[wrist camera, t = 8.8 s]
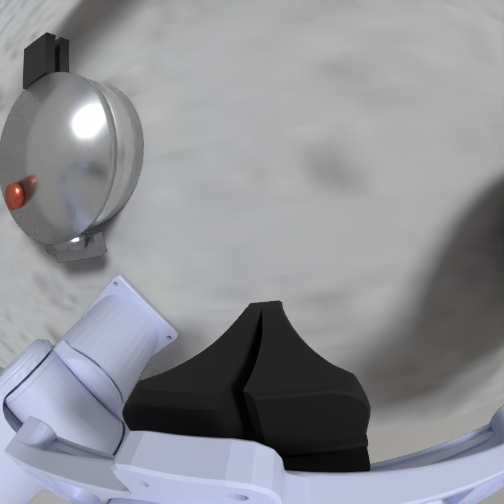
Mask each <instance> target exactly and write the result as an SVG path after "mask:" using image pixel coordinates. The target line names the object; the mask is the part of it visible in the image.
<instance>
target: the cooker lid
mask: <svg viewBox="0 0 504 504" xmlns="http://www.w3.org/2000/svg"><path fill="white" fill-rule="evenodd" d="M55 36H56V35H53V34H50V33H47V32H46V33H45V34H44V35H42V36H41V37H40V38H38V39H37V40H36V41H34V42H33V43H32V44H30V45H29V46H28V47H27V48H25V49H24V65H23V89H26V90H25V91H24V92H23V93H22V94H21V95H20V97H19V98H18V99H17V101H16V102H15V104H14V106H13V107H12V109H11V111H10V113H9V115H8V117H7V120H6V123H5V125H4V129H3V132H2V136H1V141H0V185H1V190H2V194H3V197H4V200H5V203H6V205H7V207H8V210H9V212H10V213H11V215H12V217H13V219H14V220H15V222H16V223H17V224H18V225H19V227H20V228H21V229H22V230H23V231H24V232H25V233H26V234H27V235H29V236H30V237H32V238H33V239H35V240H37V241H39V242H42V243H45V244H46V251H47V252H48V254H51V255H52V254H57V253H62V252H67V251H73V250H78V249H83V248H86V247H87V246H88V236H87V235H86V233H84V232H85V231H86V230H87V229H89V228H90V227H91V226H92V225H93V223H94V222H95V221H96V220H97V218H98V217H99V216H100V214H101V213H102V211H103V209H104V207H105V205H106V203H107V200H108V198H109V195H110V193H111V189H112V186H113V182H114V178H115V172H116V166H117V133H116V127H115V122H114V117H113V114H112V111H111V108H110V106H109V104H108V102H107V100H106V98H105V96H104V95H103V93H102V92H101V90H100V89H99V88H98V87H97V86H96V85H95V84H94V83H93V82H91V81H90V80H88V79H87V78H85V77H82V76H80V75H76V74H72V73H67V72H55Z"/></svg>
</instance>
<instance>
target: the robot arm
mask: <svg viewBox="0 0 504 504" xmlns="http://www.w3.org/2000/svg"><path fill="white" fill-rule="evenodd" d="M115 282H116V283H117V285H116V284H115ZM169 336H171V338H170V337H169ZM177 337H178V332H177V331H176V330H175V329H174V328H173V327H172V326H171V325H170V324H169V323H168V322H167V321H166V320H165V319H164V318H162V317H161V316H160V315H159V314H158V313H157V312H156V311H155V310H154V309H153V308H152V307H151V306H150V305H149V304H148V303H147V302H146V301H145V300H144V299H143V298H142V297H141V296H140V295H139V294H138V293H137V292H136V291H135V289H134V288H133V287H132V286H131V285H130V284H129V283H128V282H127V281H126V280H125V279H124V278H123V277H122V276H121V275H116V276H115V277H114V278H113V279H112V280H111V282H110V283H109V284H108V285H107V286H106V288H105V289H104V290H103V291H102V292H101V294H100V295H99V296H98V297H97V299H96V300H95V301H94V302H93V304H92V305H91V306H90V307H89V309H88V310H87V311H86V312H85V314H84V315H83V316H82V318H81V319H80V320H79V321H78V322H77V323H76V324H75V325H74V326H73V327H72V328H71V329H70V330H69V331H68V332H67V333H66V334H65V335H64V336H63V337H62V338H61V339H60V340H59V341H58V342H57V343H56V344H55V345H54V346H53V345H52V344H51V343H50V341H49V340H42V339H37V340H36V341H35V342H33V343H32V344H31V345H30V346H29V347H27V348H26V349H25V350H24V351H23V352H22V353H21V354H20V355H19V356H18V357H17V358H15V359H14V360H13V361H12V362H11V363H10V364H9V365H8V366H7V367H6V368H5V369H4V371H3V372H2V373H1V374H0V504H29V503H30V502H31V501H32V500H33V499H34V498H35V497H36V496H37V494H38V493H39V492H43V491H44V492H53V493H54V494H56V495H58V496H59V497H61V498H63V499H65V500H67V501H69V502H70V503H72V504H476V503H477V502H479V501H481V500H483V499H484V498H486V497H488V496H490V495H491V494H493V493H495V492H496V491H498V490H500V489H501V488H503V487H504V405H503V406H502V407H501V408H499V409H498V410H497V411H496V413H495V414H494V415H493V417H492V419H491V421H490V423H489V424H487V425H485V426H483V427H481V428H479V429H476V430H474V431H472V432H470V433H467V434H465V435H463V436H460V437H458V438H456V439H453V440H450V441H448V442H445V443H442V444H439V445H437V446H434V447H431V448H428V449H425V450H422V451H418V452H415V453H412V454H408V455H405V456H402V457H397V458H394V459H389V460H385V461H382V462H377V463H372V464H370V461H369V455H368V450H367V446H368V439H367V435H366V432H367V428H368V423H369V418H370V405H369V401H368V399H367V396H366V394H365V392H364V390H363V388H362V387H361V385H360V383H359V381H358V380H357V378H356V377H355V375H354V374H352V373H350V372H348V371H346V370H343V369H341V368H339V367H337V366H335V365H333V364H331V363H330V362H328V361H327V360H325V359H324V358H323V357H321V356H320V355H318V354H317V353H316V352H315V351H314V350H312V349H311V348H310V347H309V346H308V345H307V344H306V343H305V342H304V341H303V340H302V338H301V337H300V336H299V335H298V333H297V332H296V331H295V330H294V328H293V327H292V325H291V323H290V322H289V320H288V318H287V317H286V315H285V312H284V310H283V306H282V302H281V301H269V302H258V303H250V304H249V306H248V307H247V308H246V309H245V310H244V312H243V313H242V314H241V315H240V316H239V318H238V319H237V320H236V321H235V322H234V323H233V325H232V326H231V327H230V328H229V329H228V330H227V331H226V332H225V333H224V334H223V335H222V336H221V337H220V338H219V339H218V340H216V341H215V342H214V343H213V344H212V345H210V346H209V347H208V348H206V349H205V350H204V351H202V352H201V353H199V354H198V355H196V356H194V357H193V358H191V359H190V360H188V361H186V362H185V363H183V364H181V365H179V366H177V367H175V368H173V369H171V370H168V371H166V372H164V373H161V374H159V375H156V376H153V377H150V378H147V379H144V380H141V381H138V383H137V384H136V382H137V380H138V378H139V377H140V375H141V373H142V371H143V370H144V368H145V366H146V364H147V363H148V361H149V359H150V358H151V357H152V356H154V355H155V354H157V353H158V352H159V351H161V350H162V349H163V348H165V347H166V346H167V345H169V344H170V343H171V342H173V341H174V340H175V339H177ZM135 384H136V386H135V388H134V390H133V391H132V389H133V387H134V385H135ZM131 391H132V393H131V395H130V397H129V399H128V400H127V402H126V404H125V406H124V403H125V401H126V399H127V398H128V396H129V394H130V392H131ZM124 421H125V422H124Z"/></svg>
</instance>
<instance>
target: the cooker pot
mask: <svg viewBox="0 0 504 504" xmlns="http://www.w3.org/2000/svg"><path fill="white" fill-rule="evenodd" d="M55 72H67V73H69V40H67V39H64V38H61V37H60V38H59V39H57V40H56V41H55ZM88 80H90V79H88ZM90 81H91V82H93V83H94V84H95V85H96V86H97V87H98V88H99V89H100V90H101V92H102V93H103V95H104V96H105V98H106V100H107V102H108V104H109V106H110V108H111V111H112V114H113V117H114V122H115V127H116V133H117V166H116V172H115V178H114V182H113V186H112V189H111V193H110V195H109V198H108V200H107V203H106V205H105V207H104V209H103V211H102V213H101V214H100V216H99V217H98V218H97V220H96V221H95V222H94V223H93V225H92V226H91V227H90V228H92V227H94V226H96V225H98V224H101V223H103V222H105V221H107V220H108V219H110V218H111V217H113V216H114V215H116V214H117V213H118V212H119V211H120V210H121V209H122V208H123V206H124V205H125V204H126V203H127V201H128V200H129V198H130V196H131V195H132V193H133V191H134V189H135V187H136V184H137V181H138V178H139V176H140V172H141V167H142V161H143V148H144V142H143V132H142V128H141V123H140V120H139V117H138V114H137V112H136V110H135V108H134V106H133V105H132V103H131V102H130V100H129V99H128V98H127V97H126V96H125V95H124V94H123V93H122V92H121V91H119V90H118V89H117V88H115V87H112V86H110V85H107V84H104V83H101V82H97V81H94V80H90ZM90 228H89V229H90ZM87 230H88V229H87ZM87 236H88V246H87V247H86V248H83V249H78V250H73V251H67V252H62V253H57V254H55V256H56V259H57V262H58V263H61V262H67V261H74V260H80V259H86V258H93V257H99V256H101V255H102V254H104V253H105V252H107V249H106V245H105V242H104V238H103V235H102V232H98V233H94V234H89V235H87Z"/></svg>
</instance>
